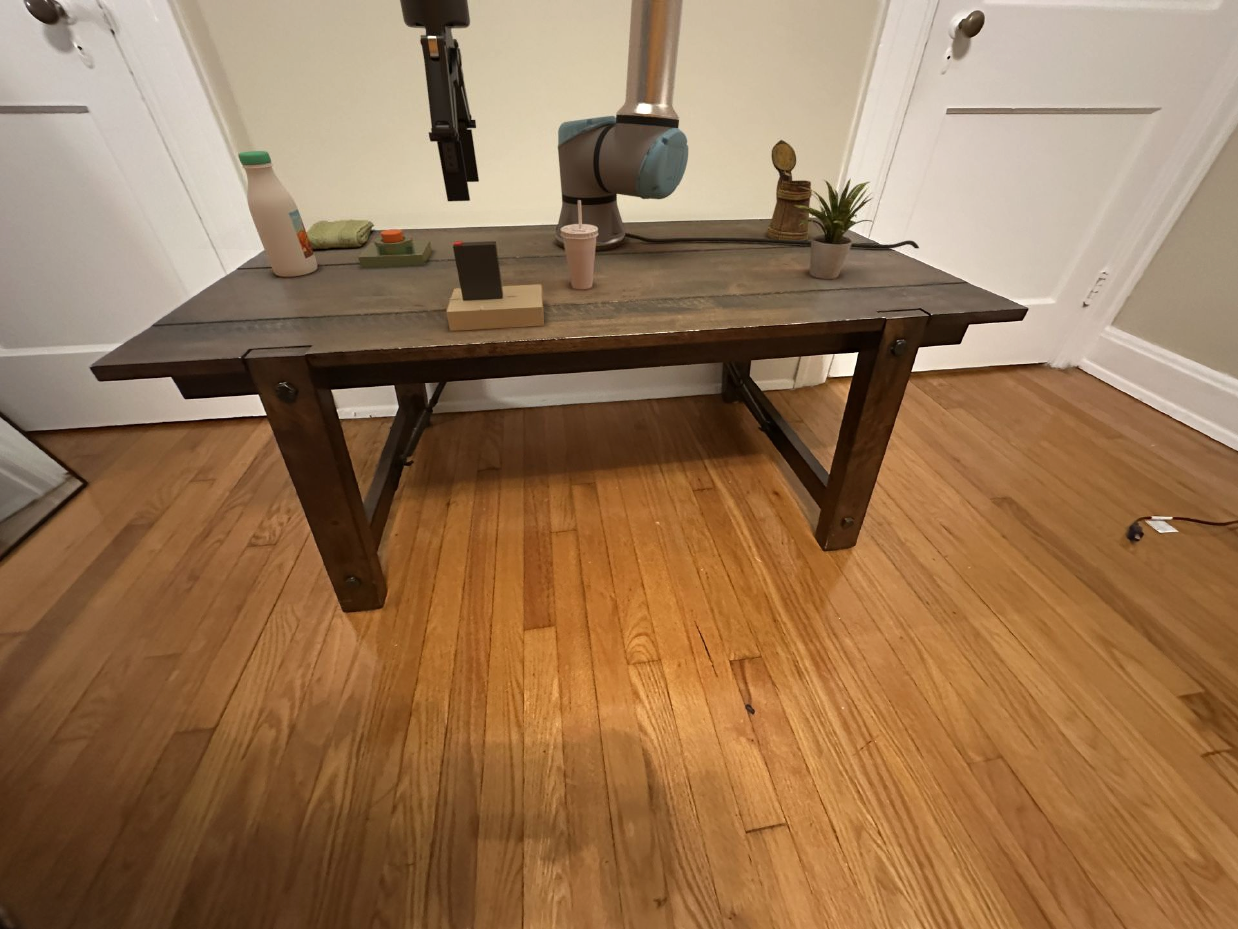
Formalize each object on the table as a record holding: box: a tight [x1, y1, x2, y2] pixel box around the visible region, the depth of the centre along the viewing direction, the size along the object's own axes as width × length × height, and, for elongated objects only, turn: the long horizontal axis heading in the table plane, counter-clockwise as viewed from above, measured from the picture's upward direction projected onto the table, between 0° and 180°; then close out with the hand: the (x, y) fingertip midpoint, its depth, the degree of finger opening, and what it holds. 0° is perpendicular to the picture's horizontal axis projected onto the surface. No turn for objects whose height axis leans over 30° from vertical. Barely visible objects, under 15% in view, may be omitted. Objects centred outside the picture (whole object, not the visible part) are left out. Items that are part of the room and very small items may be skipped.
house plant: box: [794, 178, 875, 280], centre depth 95 cm, size 14×14×16 cm
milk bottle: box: [237, 150, 318, 278], centre depth 96 cm, size 8×8×20 cm
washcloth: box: [306, 219, 375, 251], centre depth 119 cm, size 13×18×3 cm
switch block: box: [358, 234, 433, 269], centre depth 107 cm, size 12×10×4 cm
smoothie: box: [561, 200, 598, 290], centre depth 91 cm, size 6×6×14 cm
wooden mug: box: [766, 139, 813, 241], centre depth 116 cm, size 9×14×18 cm, turn 17°
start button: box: [380, 228, 404, 242], centre depth 105 cm, size 4×4×2 cm
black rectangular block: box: [452, 240, 503, 300], centre depth 80 cm, size 6×2×8 cm, turn 97°
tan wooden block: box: [445, 283, 545, 332], centre depth 83 cm, size 14×10×3 cm
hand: (464, 190), depth 73 cm, fingers open, 13 cm apart
